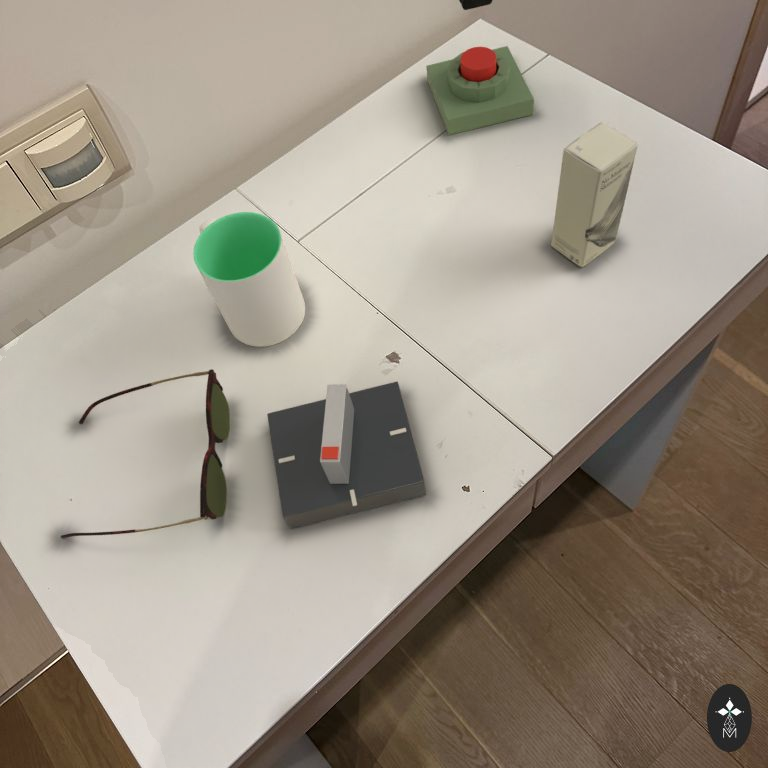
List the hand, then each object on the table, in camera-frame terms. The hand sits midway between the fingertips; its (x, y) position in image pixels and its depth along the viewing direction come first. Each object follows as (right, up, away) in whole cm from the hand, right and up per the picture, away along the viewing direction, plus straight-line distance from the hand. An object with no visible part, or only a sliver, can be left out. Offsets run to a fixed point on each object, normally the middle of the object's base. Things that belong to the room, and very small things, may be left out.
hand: (475, 2), depth 78 cm
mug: (-23, -32, -1) cm, 39 cm away
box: (+11, -26, -3) cm, 28 cm away
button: (+1, -4, +7) cm, 8 cm away
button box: (+2, -6, +10) cm, 12 cm away
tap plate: (-13, -47, -12) cm, 50 cm away
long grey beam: (-13, -45, -14) cm, 49 cm away
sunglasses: (-31, -48, -10) cm, 58 cm away
